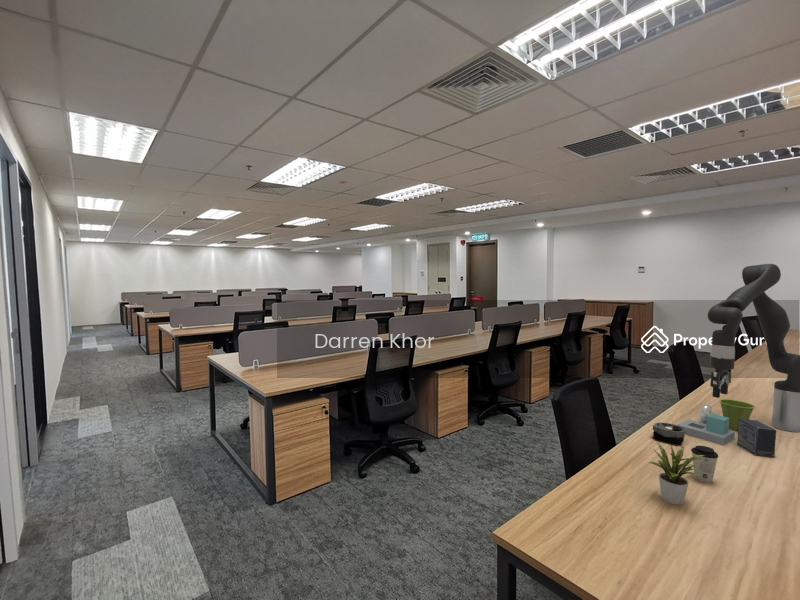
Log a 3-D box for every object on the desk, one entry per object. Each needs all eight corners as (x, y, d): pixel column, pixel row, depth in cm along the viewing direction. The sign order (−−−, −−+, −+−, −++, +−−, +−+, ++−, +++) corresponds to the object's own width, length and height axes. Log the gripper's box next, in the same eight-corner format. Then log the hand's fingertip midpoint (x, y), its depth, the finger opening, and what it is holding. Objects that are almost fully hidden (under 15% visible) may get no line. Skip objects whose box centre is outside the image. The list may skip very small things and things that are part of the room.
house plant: (710, 524, 99) (713, 463, 98) (647, 506, 106) (649, 450, 106) (701, 497, 111) (704, 443, 110) (646, 484, 118) (648, 433, 118)
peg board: (688, 426, 168) (689, 414, 167) (734, 438, 154) (735, 425, 154) (676, 431, 161) (677, 419, 161) (723, 445, 148) (724, 432, 147)
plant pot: (751, 436, 157) (753, 409, 157) (715, 427, 166) (716, 402, 166) (755, 429, 165) (756, 403, 164) (720, 421, 174) (721, 397, 173)
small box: (776, 458, 138) (778, 429, 137) (755, 456, 139) (757, 428, 138) (755, 445, 148) (757, 419, 147) (736, 444, 149) (737, 418, 149)
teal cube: (711, 427, 158) (712, 413, 158) (728, 432, 153) (729, 417, 153) (706, 430, 155) (706, 416, 155) (723, 435, 150) (724, 420, 150)
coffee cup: (710, 486, 117) (712, 455, 117) (685, 476, 123) (686, 446, 123) (721, 481, 121) (723, 450, 120) (696, 471, 127) (697, 442, 126)
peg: (701, 426, 167) (702, 404, 167) (711, 429, 164) (712, 406, 164) (698, 427, 165) (699, 405, 165) (708, 430, 162) (709, 407, 162)
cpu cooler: (686, 426, 152) (682, 433, 145) (686, 440, 152) (682, 448, 145) (656, 420, 159) (651, 426, 152) (655, 433, 160) (650, 440, 152)
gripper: (717, 353, 159) (715, 390, 160) (704, 356, 151) (701, 395, 152) (740, 356, 153) (738, 395, 154) (727, 359, 145) (725, 401, 146)
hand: (720, 395), depth 153 cm, fingers open, 8 cm apart
